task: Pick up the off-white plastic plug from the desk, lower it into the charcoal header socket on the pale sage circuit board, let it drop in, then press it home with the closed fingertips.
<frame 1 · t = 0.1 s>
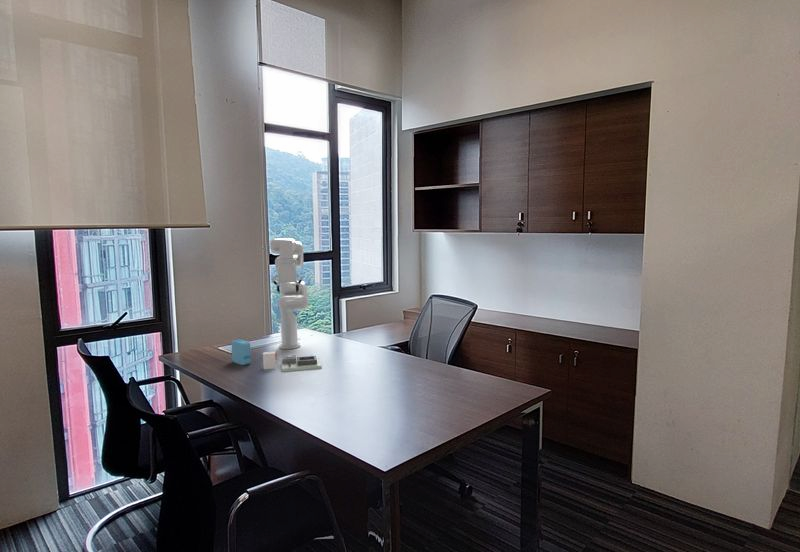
hand: (288, 292, 265), 37 cm above the table, tool pointing down, fingers open, 9 cm apart
plug: (269, 367, 249), on the table
board: (301, 365, 252), on the table
data package: (241, 363, 259), on the table
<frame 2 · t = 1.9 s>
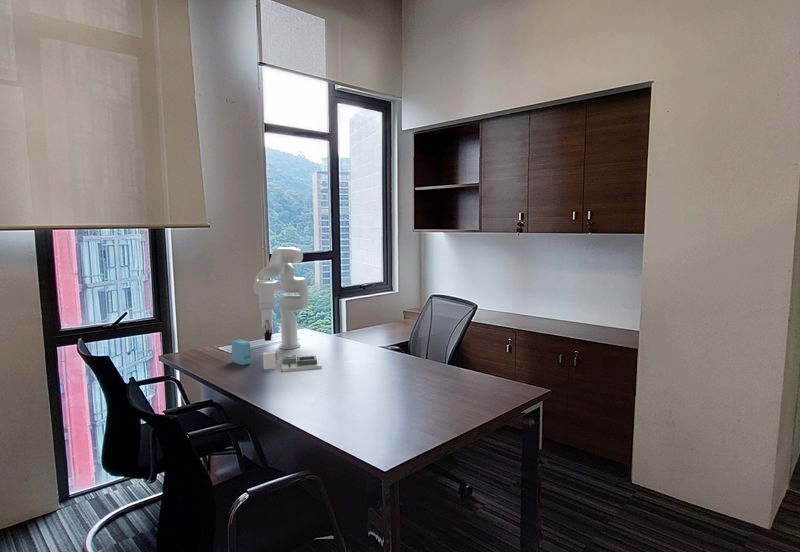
hand: (268, 338, 247), 16 cm above the table, tool pointing down, fingers open, 9 cm apart
nothing on the table moved.
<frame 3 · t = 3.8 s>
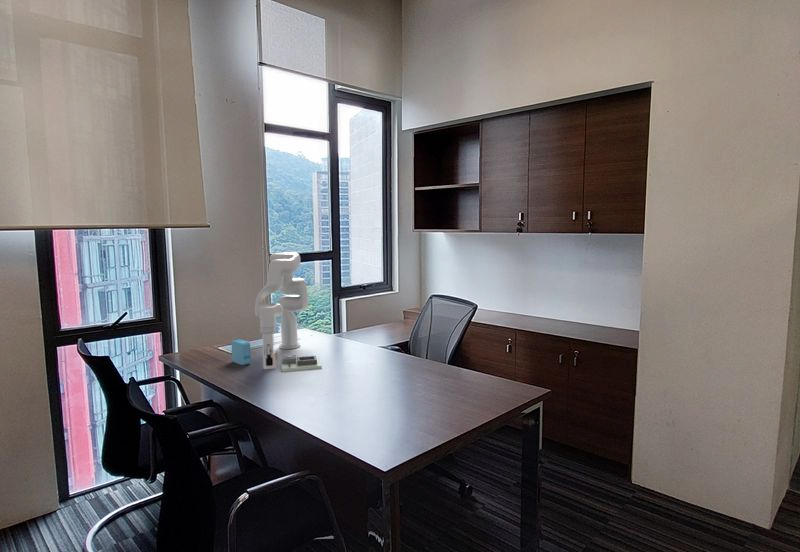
hand: (269, 363, 249), 2 cm above the table, tool pointing down, fingers closed on plug, 3 cm apart
plug: (269, 367, 249), on the table, touching gripper
everything else where it was.
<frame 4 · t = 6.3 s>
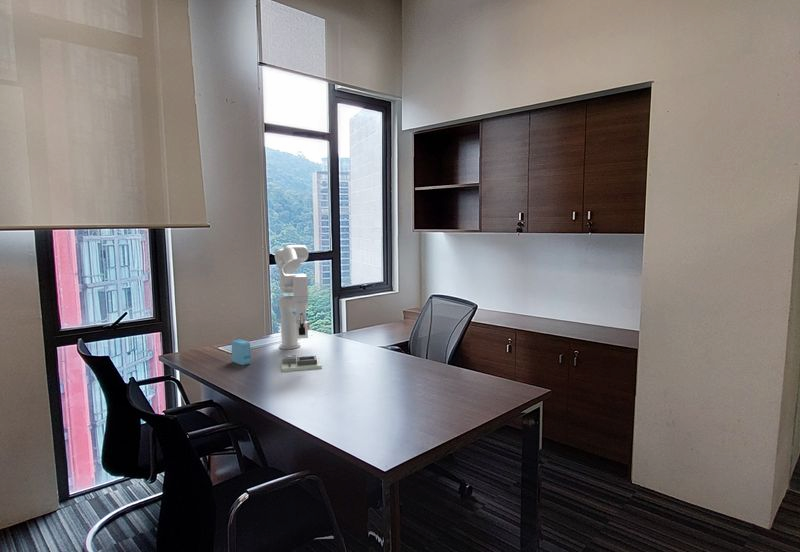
hand: (302, 333, 250), 17 cm above the table, tool pointing down, fingers closed on plug, 4 cm apart
plug: (302, 337, 250), point 15 cm above the table, touching gripper
everything else where it was.
when the fingers open (5 cm above the table, at t = 9.2 s): plug drops 1 cm, resting on board.
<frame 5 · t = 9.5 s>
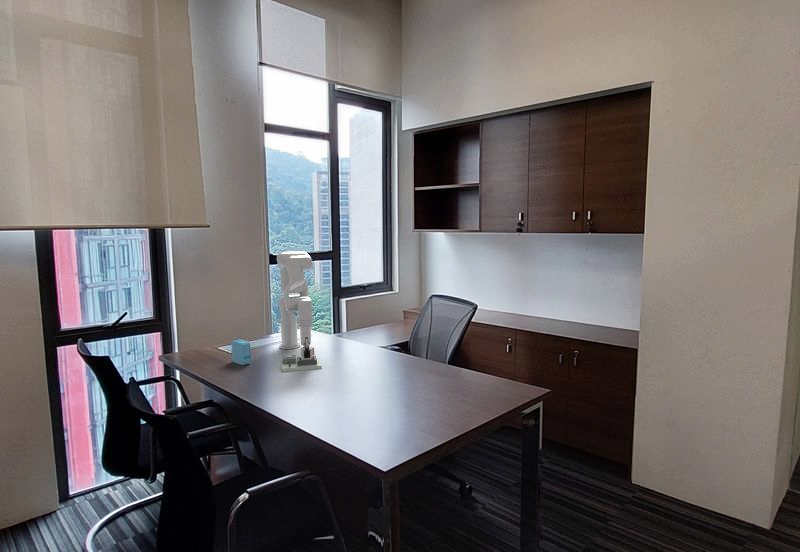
hand: (306, 355, 251), 5 cm above the table, tool pointing down, fingers open, 7 cm apart
plug: (306, 362, 252), point 1 cm above the table, touching board
everything else where it was.
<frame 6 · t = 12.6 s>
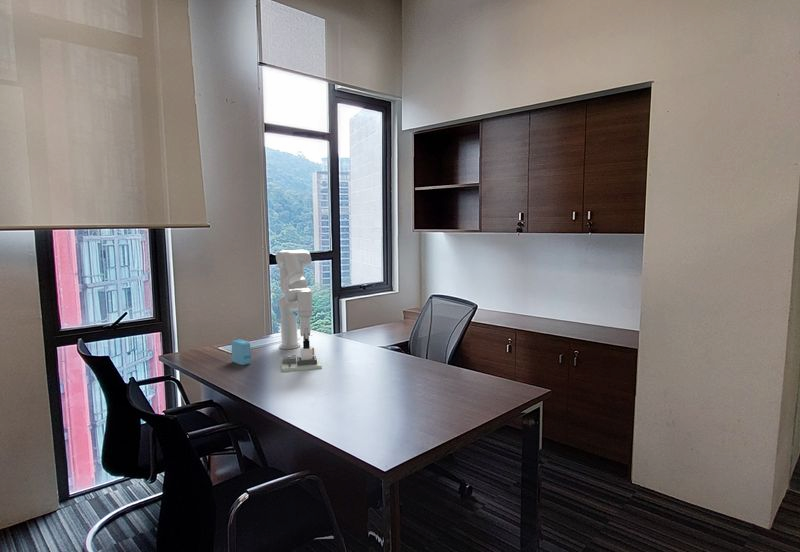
hand: (306, 348, 251), 10 cm above the table, tool pointing down, fingers closed
plug: (306, 362, 252), point 2 cm above the table, touching board, gripper
everything else where it was.
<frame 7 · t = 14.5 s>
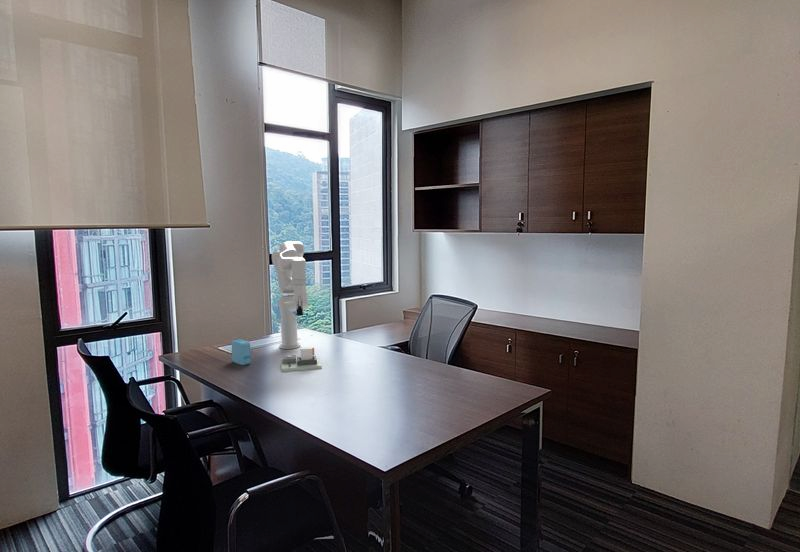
hand: (299, 315, 260), 25 cm above the table, tool pointing down, fingers closed
plug: (306, 362, 252), point 1 cm above the table, touching board
everything else where it was.
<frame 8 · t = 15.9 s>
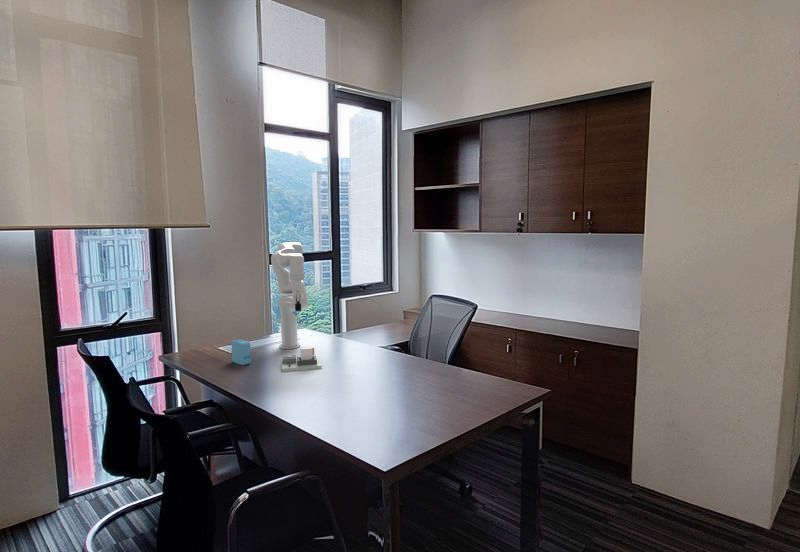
hand: (298, 310, 262), 27 cm above the table, tool pointing down, fingers closed
nothing on the table moved.
at the end: plug 0.1 cm from the target spot on the board, point 1.5 cm above the board's base; plug tilted 0°; the gripper is holding nothing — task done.
